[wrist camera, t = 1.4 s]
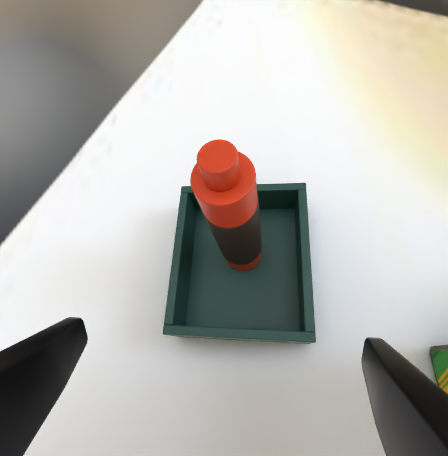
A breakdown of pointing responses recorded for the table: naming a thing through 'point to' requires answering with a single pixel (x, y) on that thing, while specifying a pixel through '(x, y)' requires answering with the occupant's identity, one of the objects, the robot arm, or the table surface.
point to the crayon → (229, 202)
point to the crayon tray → (244, 275)
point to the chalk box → (440, 365)
